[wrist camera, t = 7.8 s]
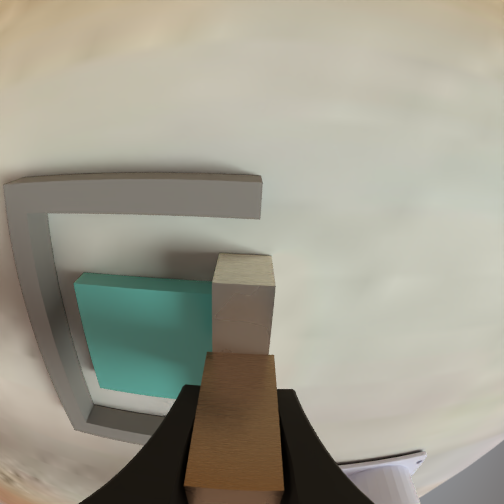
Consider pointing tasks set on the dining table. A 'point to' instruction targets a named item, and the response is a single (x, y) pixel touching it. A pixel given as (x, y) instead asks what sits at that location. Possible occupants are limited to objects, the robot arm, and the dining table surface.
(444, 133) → the dining table surface
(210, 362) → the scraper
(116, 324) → the tile
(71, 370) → the frame
